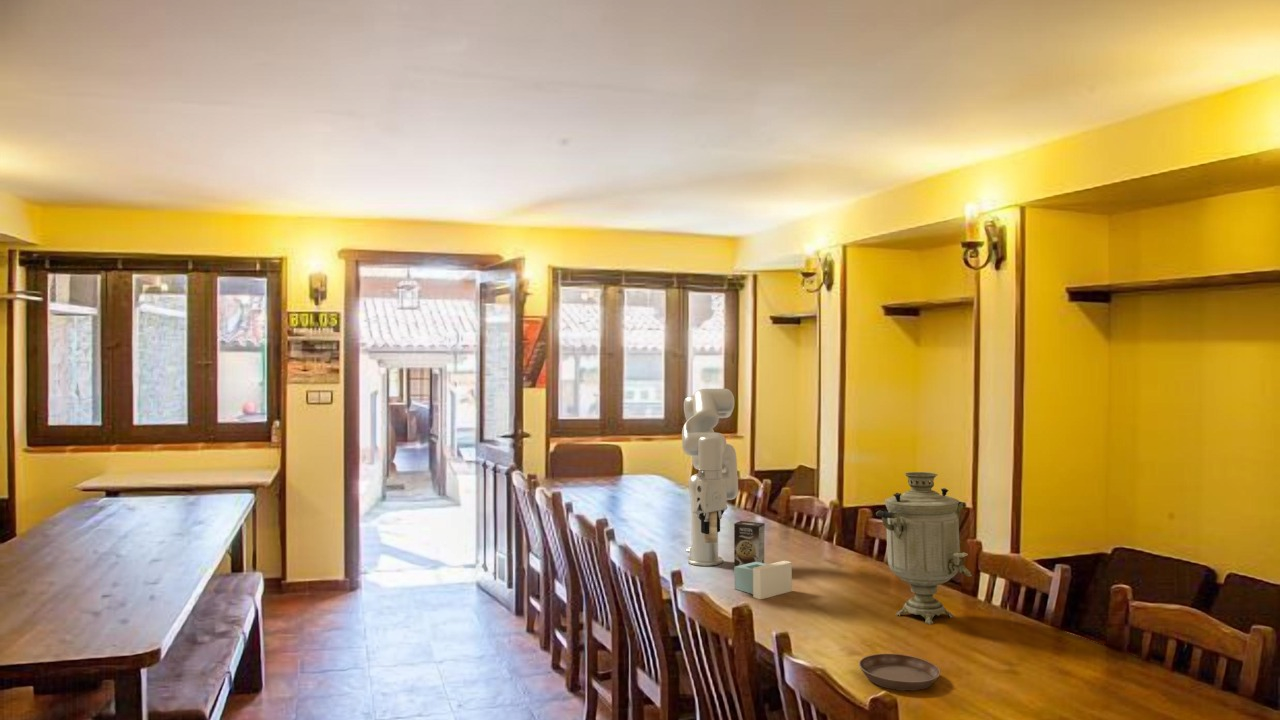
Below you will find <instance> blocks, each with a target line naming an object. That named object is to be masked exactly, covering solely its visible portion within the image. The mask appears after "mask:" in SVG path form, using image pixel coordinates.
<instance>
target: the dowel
mask: <svg viewBox="0 0 1280 720" xmlns="http://www.w3.org/2000/svg"><path fill="white" fill-rule="evenodd" d="M704 516H705V513H704ZM708 522H709V534H704V542H706V543H716V542H717V511H715V512H709V515H708Z"/></svg>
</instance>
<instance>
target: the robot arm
mask: <svg viewBox="0 0 1280 720" xmlns="http://www.w3.org/2000/svg"><path fill="white" fill-rule="evenodd" d="M734 408H735V397H734V394H733V392H732V391H731V390H730V389H728V388H701V389H698V390H697V391H695V392H694V394H693V395H689V396H687V397H686V398H684V401H683V412H684V418H685V421H686V422H685V423H684V424H683V427H682V430H681V445H682V451H683V452H684V454H685V455H687V456H689V457H691V461H692V462H691V463H692V465H693V468H694V469H696V470H698V472H697V473H695V474H693V475H691V476H690V477H689V480H688V490H689V497H690V511H691V515H690V516H691V517H690V519H691V521H690V522H691V523H690V525H691V536H690V537H691V545H690V546H689V547H688V548H686V550H685V552H686V553H687V554H689V556H688V557H687V558H686V559H687V560H686V561H687V563H688V564H689V565H693V566H703V567H707V566H710V567H711V566H717V565H721V564H723V562H724V559H723V557H721V556H719V533H721V520H722V518H723V515H724V512H726V510H727V509H728V501H730V500H735V499H736V498H737V496H738V494H739V479H738V477H739V475H738V459H737V452H736V449H735V447H734V446H733V445H731V444H728V443H727V438H726V437H725V436H724V434H723V433H720V432H715V431H714V428H715V427H716V426H717V425H718V424H719V420H720V419H727V418H730V417H731V415H732V413H733V411H734ZM715 511H717V542H716V543H706V542H704V534H709V522H708V515H709V512H715ZM704 513H705V516H704Z"/></svg>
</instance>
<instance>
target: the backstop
mask: <svg viewBox="0 0 1280 720" xmlns="http://www.w3.org/2000/svg"><path fill="white" fill-rule="evenodd" d="M766 564H767V565H763V566H759V567H754V568H753V594H752V595H753V596H752V597H753V598H754V599H758V600H763V599H768V598H771V597H775V596H779V595H783V594H786V593H791V592H792V591H793V588H792V587H793V586H792V585H793V583H792V582H793V581H792V578H793V577H792V576H793V575H792V574H793V573H792V569H793V566H792V562H791V561H787V560H781V561H777V562H772V563H766Z"/></svg>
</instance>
